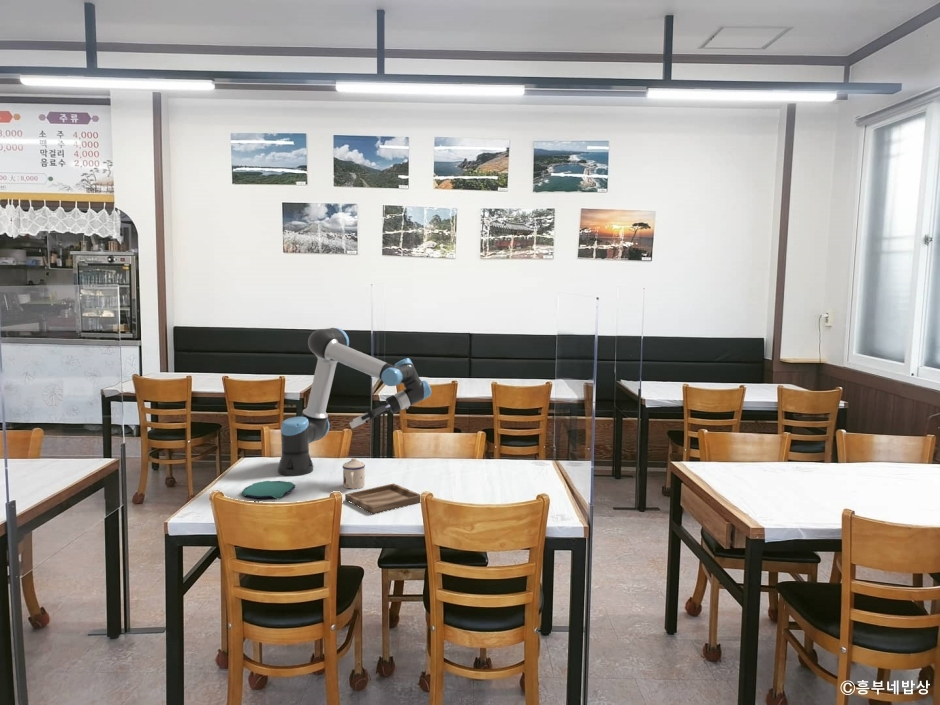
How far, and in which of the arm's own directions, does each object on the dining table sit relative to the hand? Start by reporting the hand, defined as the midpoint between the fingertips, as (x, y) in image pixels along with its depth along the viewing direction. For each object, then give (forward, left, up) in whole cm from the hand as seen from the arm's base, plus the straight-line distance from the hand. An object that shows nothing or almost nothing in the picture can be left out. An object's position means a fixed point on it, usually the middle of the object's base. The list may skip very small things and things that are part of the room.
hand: (352, 424), depth 268 cm
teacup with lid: (+7, -4, -25) cm, 26 cm away
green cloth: (-5, -37, -25) cm, 45 cm away
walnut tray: (+30, -4, -24) cm, 39 cm away
